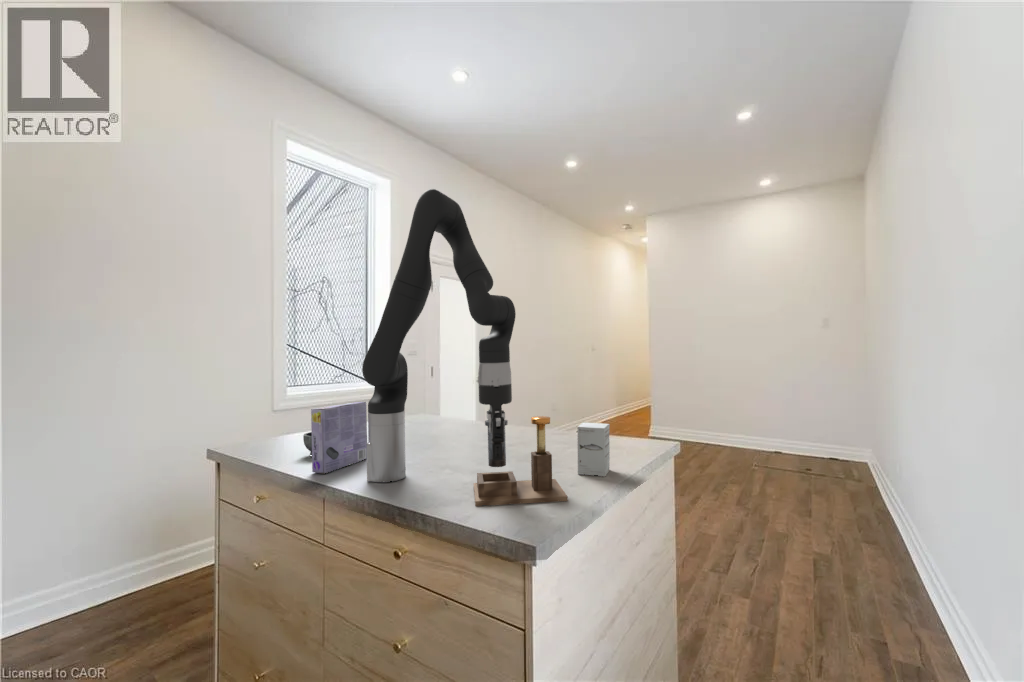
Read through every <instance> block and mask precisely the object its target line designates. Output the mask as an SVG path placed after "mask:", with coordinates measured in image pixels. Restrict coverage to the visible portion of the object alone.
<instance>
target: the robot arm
mask: <svg viewBox="0 0 1024 682" xmlns="http://www.w3.org/2000/svg"><path fill="white" fill-rule="evenodd" d="M435 233H437V234H441V235H442V237H443V238H444V239H445V240H446V241H447V243H448V244H449V246H450V248H451V251H452V262H453V263H452V264H453V267H454V270H455V273H456V275H457V278H458V279H459V281H460V283H461V285H462V287H463V288H464V291H465V294H466V295H465V296H466V301H467V306H468V310H469V314H470V316H471V319H473V320H474V322H476V323H477V324H478V325H479V326H484V327H485V326H486V327H487V326H489V327H491V329H490V332H489V335H487V336H484V337H481V338H480V340H479V342H478V361H479V363H478V364H479V365H478V374H477V375H478V380H477V381H478V402H479V404H480V405H484V406H488V405H489V409H488V410H487V411H486V420H488V421H489V432H490V433H491V434H492V440H491V442H492V456H493V460H494V461H497V460H502V459H503V453H502V443H503V442H504V431H505V432H506V425H505V426H504V419H505V420H506V411H505V410H504V409H503V408H502V406H503V405H507V404H510V403H512V399H513V397H512V396H513V395H512V393H513V392H512V391H513V389H512V368H511V363H510V360H511V355H510V354H511V353H510V352H511V351H510V343H511V339H512V335H513V330H514V325H515V322H516V307H515V304H514V302H513V300H512V299H511V298H510V297H508V296H505V295H498V294H495V295H494V294H491V293H489V292H490V291H491V290H492V289H493V286H494V279H493V277H492V274H491V273H490V271H489V269H488V267H487V265H486V264H485V262H484V261H483V259H482V256H481V255H480V253H479V251H478V249H477V248H476V245H475V242H474V240H473V238H472V235H471V233H470V230H469V227H468V224H467V221H466V219H465V215H464V212H463V210H462V207H461V206H460V205H459V204H458V202H456V201H455V200H454V199H453V198H451V197H450V196H448V195H446V194H445V193H443V192H442V191H439V190H438V189H436V188H429V189H427V190H425V191H424V192H422V193H421V195H420V196H419V198H418V200H417V202H416V204H415V207H414V211H413V215H412V220H411V224H410V228H409V231H408V236H407V241H406V244H405V247H404V251H403V253H402V257H401V260H400V263H399V266H398V269H397V271H396V275H395V277H394V280H393V283H392V285H391V289H390V292H389V294H388V295H389V296H388V298H387V300H386V301H387V302H386V305H385V308H384V309H383V312H382V315H381V319H380V321H379V325H378V328H377V330H376V333H375V335H374V337H373V339H372V341H371V344H370V346H369V348H368V350H367V352H366V354H365V356H364V360H363V362H362V367H361V370H362V371H361V372H362V376H363V378H364V380H365V382H367V384H369V385H370V386H372V387H374V390H373V394H372V396H371V398H370V399H369V401H368V404H367V459H366V481H367V482H373V483H391V482H390V481H392V482H396V481H401V480H403V479H405V478H406V475H407V474H406V471H407V468H406V419H405V418H406V417H405V416H406V414H405V413H406V412H405V411H406V410H405V409H406V408H405V405H406V401H407V398H408V384H409V383H408V379H409V378H408V375H409V374H408V373H409V372H408V363H407V360H406V357H405V356H404V355H403V354H402V353H401V349H402V346H403V343H404V342H405V341H404V340H405V339H406V336H407V334H408V333H409V331H410V330H411V328H412V327H413V325H414V324H415V323H416V321H417V320H418V318H419V317H420V315H421V313H422V312H423V310H424V308H425V305H426V304H427V300H428V297H429V295H430V292H431V288H432V283H433V279H432V278H433V277H432V276H433V274H432V265H431V257H430V254H431V253H430V252H431V244H432V241H433V238H434V235H435ZM491 422H492V425H491ZM496 433H500V437H495V434H496Z"/></svg>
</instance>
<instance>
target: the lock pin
mask: <svg viewBox="0 0 1024 682" xmlns="http://www.w3.org/2000/svg"><path fill="white" fill-rule="evenodd" d="M530 419H531V420H530V424H532V425H535V426H536V451H537V455H546V450H547V449H546V425H550V424H551V417H550V416H544V415H539V416H538V415H537V416H532V417H531V418H530Z"/></svg>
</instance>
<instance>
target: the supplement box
mask: <svg viewBox="0 0 1024 682" xmlns="http://www.w3.org/2000/svg"><path fill="white" fill-rule="evenodd" d="M610 448H611V447H610V423H600V422H581V423H580V424H579V425H577V475H584V474H585V475H586V476H594V475H598V476H597V477H602V476H605V475H606V476H607V474H608V473H609V471H610V459H611V457H610V453H611V452H610ZM608 470H609V471H608ZM607 472H608V473H607ZM585 475H584V476H585ZM606 476H605V477H606Z"/></svg>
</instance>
